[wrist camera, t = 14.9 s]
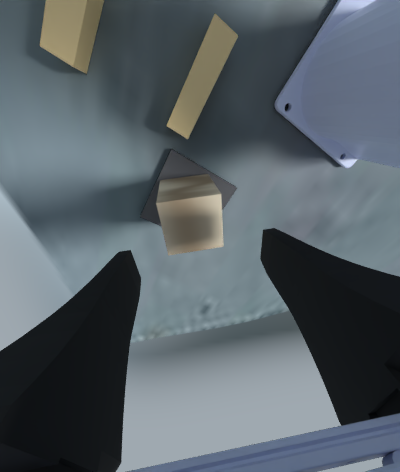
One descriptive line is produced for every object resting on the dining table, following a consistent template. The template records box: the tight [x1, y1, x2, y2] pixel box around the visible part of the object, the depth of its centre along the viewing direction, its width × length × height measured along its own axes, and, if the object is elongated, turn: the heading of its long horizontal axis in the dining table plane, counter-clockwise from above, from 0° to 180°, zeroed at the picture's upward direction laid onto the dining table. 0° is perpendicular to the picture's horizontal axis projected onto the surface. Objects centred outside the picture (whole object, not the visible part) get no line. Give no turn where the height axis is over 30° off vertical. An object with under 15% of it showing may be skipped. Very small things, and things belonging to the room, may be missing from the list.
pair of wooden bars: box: [40, 0, 238, 139], centre depth 11 cm, size 9×6×2 cm
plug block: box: [156, 174, 223, 255], centre depth 15 cm, size 4×4×5 cm
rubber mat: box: [140, 149, 237, 226], centre depth 17 cm, size 6×6×1 cm
